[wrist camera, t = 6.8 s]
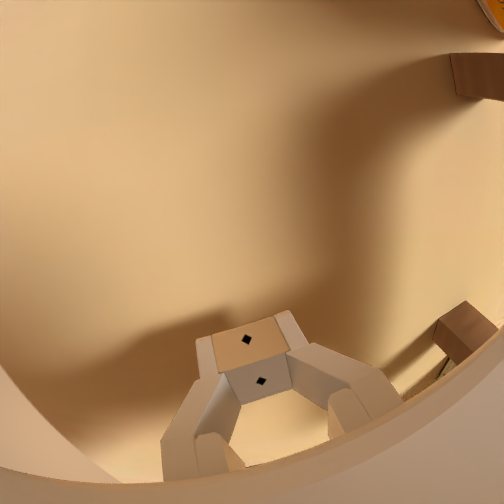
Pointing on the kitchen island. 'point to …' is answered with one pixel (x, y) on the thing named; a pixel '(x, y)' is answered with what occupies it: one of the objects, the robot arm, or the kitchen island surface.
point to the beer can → (494, 12)
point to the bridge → (465, 315)
